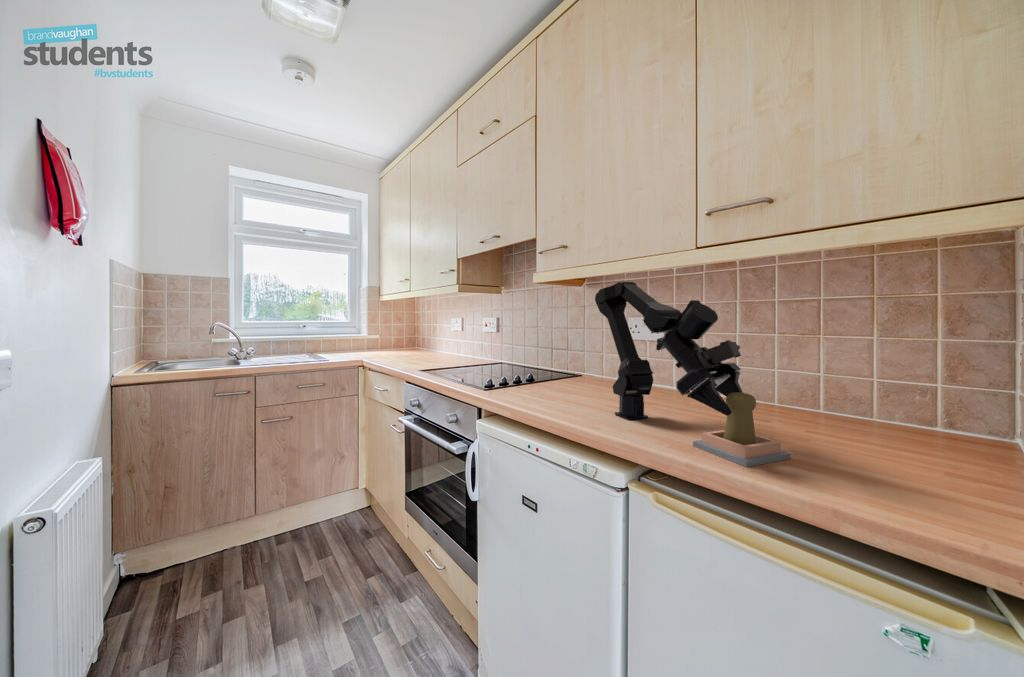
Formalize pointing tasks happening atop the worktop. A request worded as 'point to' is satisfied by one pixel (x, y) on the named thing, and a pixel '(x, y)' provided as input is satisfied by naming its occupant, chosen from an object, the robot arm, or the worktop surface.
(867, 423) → the worktop surface
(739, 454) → the stand
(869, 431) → the worktop surface
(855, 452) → the worktop surface
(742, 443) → the olive pepper mill
